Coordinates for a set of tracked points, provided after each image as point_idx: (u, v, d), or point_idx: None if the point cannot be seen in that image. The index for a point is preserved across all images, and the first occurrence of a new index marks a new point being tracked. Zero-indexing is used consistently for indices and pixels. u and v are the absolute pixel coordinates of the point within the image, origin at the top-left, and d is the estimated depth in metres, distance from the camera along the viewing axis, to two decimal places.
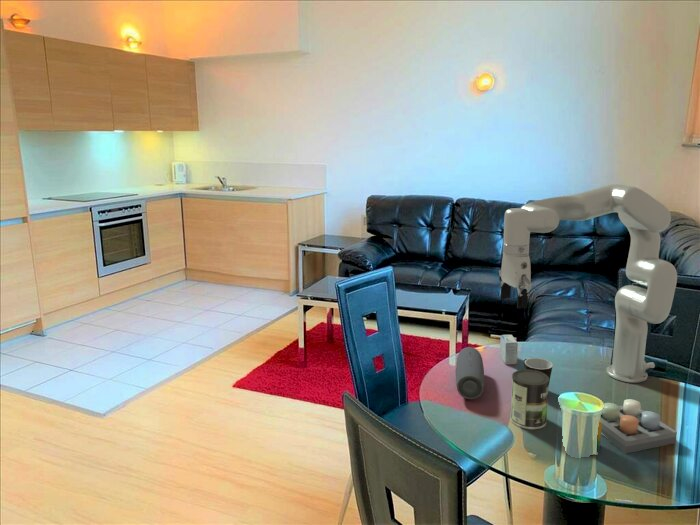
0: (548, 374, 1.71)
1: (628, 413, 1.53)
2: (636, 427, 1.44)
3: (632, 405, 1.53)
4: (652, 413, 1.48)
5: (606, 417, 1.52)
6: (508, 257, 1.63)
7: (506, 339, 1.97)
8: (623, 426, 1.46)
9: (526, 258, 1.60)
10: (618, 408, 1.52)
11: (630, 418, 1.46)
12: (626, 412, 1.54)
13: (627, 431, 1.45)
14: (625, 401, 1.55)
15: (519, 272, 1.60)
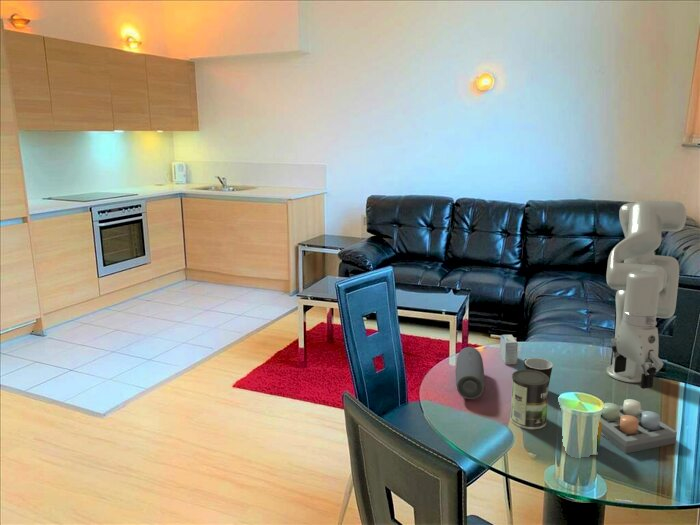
0: (548, 374, 1.71)
1: (628, 413, 1.53)
2: (636, 427, 1.44)
3: (632, 405, 1.53)
4: (652, 413, 1.48)
5: (606, 417, 1.52)
6: (630, 328, 1.39)
7: (506, 339, 1.97)
8: (623, 426, 1.46)
9: (654, 331, 1.36)
10: (618, 408, 1.52)
11: (630, 418, 1.46)
12: (626, 412, 1.54)
13: (627, 431, 1.45)
14: (625, 401, 1.55)
15: (646, 347, 1.36)
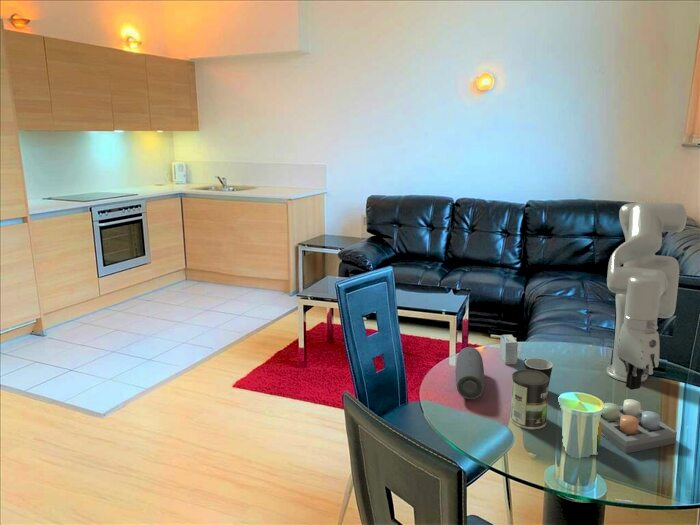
0: (548, 374, 1.71)
1: (628, 413, 1.53)
2: (636, 427, 1.44)
3: (632, 405, 1.53)
4: (652, 413, 1.48)
5: (606, 417, 1.52)
6: (631, 332, 1.39)
7: (506, 339, 1.97)
8: (623, 426, 1.46)
9: (655, 335, 1.36)
10: (618, 408, 1.52)
11: (630, 418, 1.46)
12: (626, 412, 1.54)
13: (627, 431, 1.45)
14: (625, 401, 1.55)
15: (647, 351, 1.36)
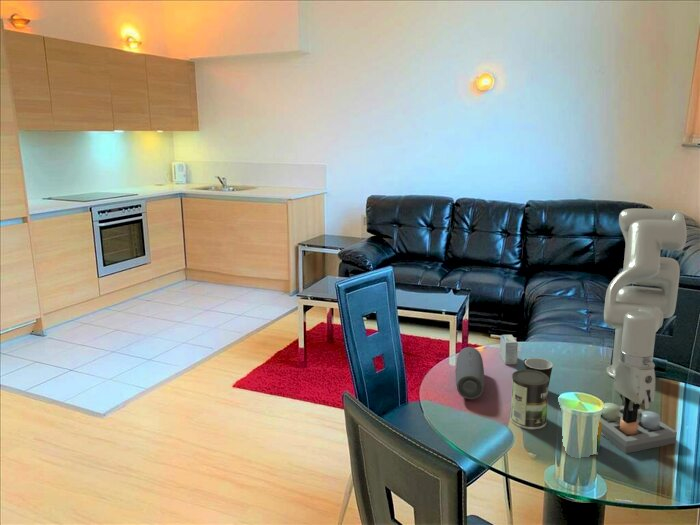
0: (548, 374, 1.71)
1: None
2: (636, 428, 1.45)
3: None
4: (652, 413, 1.48)
5: (606, 417, 1.52)
6: (627, 367, 1.41)
7: (506, 339, 1.97)
8: (623, 427, 1.46)
9: (651, 371, 1.38)
10: (618, 408, 1.52)
11: None
12: None
13: (627, 432, 1.45)
14: None
15: (643, 387, 1.38)
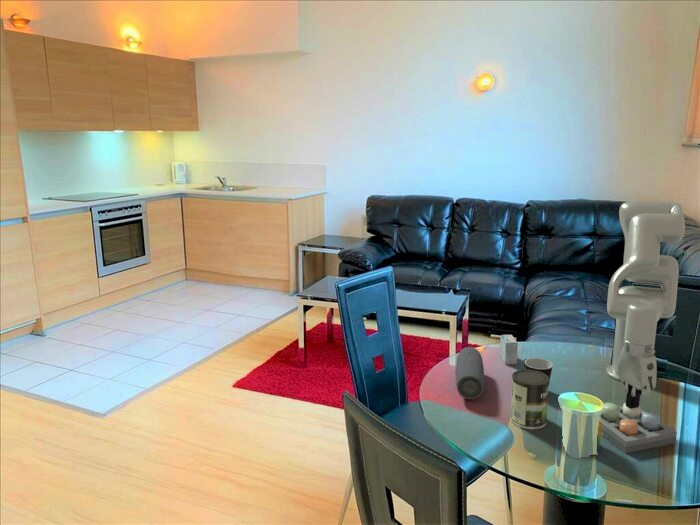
0: (548, 374, 1.71)
1: (628, 417, 1.54)
2: (635, 431, 1.45)
3: (632, 408, 1.53)
4: (652, 413, 1.48)
5: (606, 417, 1.52)
6: (630, 355, 1.50)
7: (506, 339, 1.97)
8: (622, 430, 1.46)
9: (653, 359, 1.46)
10: (618, 408, 1.52)
11: (630, 422, 1.47)
12: (626, 415, 1.54)
13: (627, 435, 1.45)
14: (625, 404, 1.55)
15: (645, 374, 1.46)
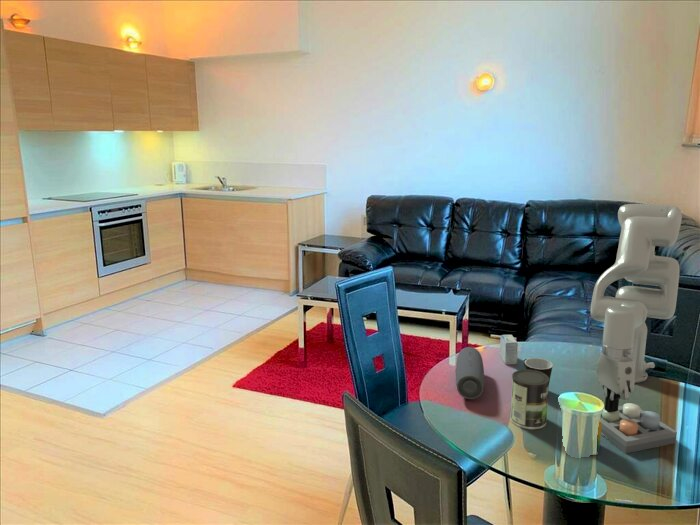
0: (548, 374, 1.71)
1: None
2: (635, 431, 1.45)
3: (632, 409, 1.53)
4: (652, 413, 1.48)
5: None
6: (608, 359, 1.48)
7: (506, 339, 1.97)
8: (622, 430, 1.46)
9: (631, 363, 1.45)
10: (618, 412, 1.52)
11: (630, 422, 1.47)
12: (626, 416, 1.54)
13: (627, 435, 1.45)
14: (625, 405, 1.55)
15: (623, 378, 1.45)
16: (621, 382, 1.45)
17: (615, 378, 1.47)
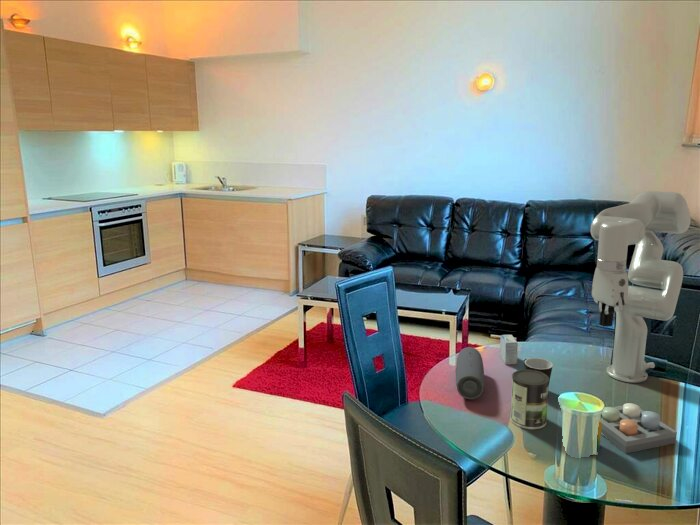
0: (548, 374, 1.71)
1: None
2: (635, 431, 1.45)
3: (632, 409, 1.53)
4: (652, 413, 1.48)
5: None
6: (603, 273, 1.54)
7: (506, 339, 1.97)
8: (622, 430, 1.46)
9: (624, 275, 1.50)
10: (618, 412, 1.52)
11: (630, 422, 1.47)
12: (626, 416, 1.54)
13: (627, 435, 1.45)
14: (625, 405, 1.55)
15: (617, 290, 1.51)
16: (615, 294, 1.51)
17: (609, 291, 1.52)
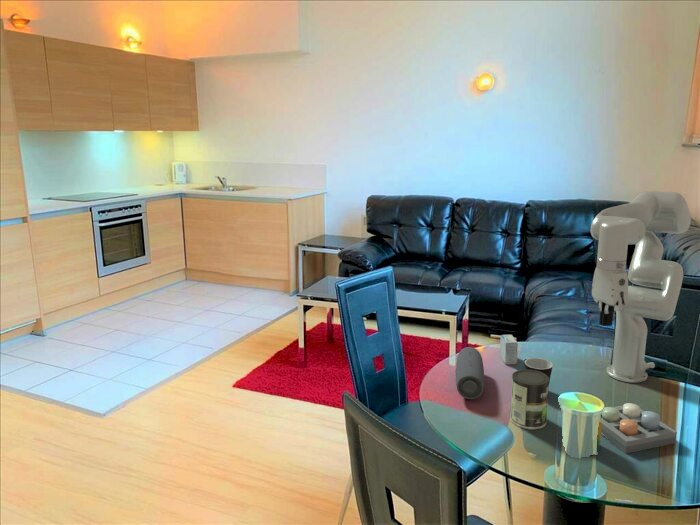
0: (548, 374, 1.71)
1: None
2: (635, 431, 1.45)
3: (632, 409, 1.53)
4: (652, 413, 1.48)
5: None
6: (603, 273, 1.54)
7: (506, 339, 1.97)
8: (622, 430, 1.46)
9: (624, 274, 1.50)
10: (618, 412, 1.52)
11: (630, 422, 1.47)
12: (626, 416, 1.54)
13: (627, 435, 1.45)
14: (625, 405, 1.55)
15: (617, 289, 1.51)
16: (615, 293, 1.51)
17: (609, 290, 1.52)
